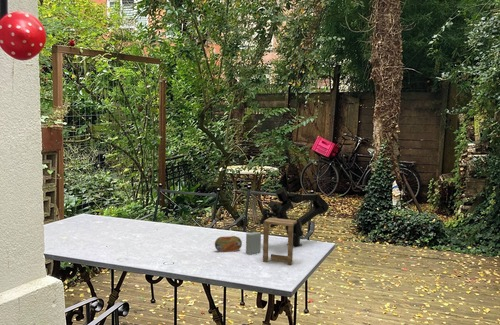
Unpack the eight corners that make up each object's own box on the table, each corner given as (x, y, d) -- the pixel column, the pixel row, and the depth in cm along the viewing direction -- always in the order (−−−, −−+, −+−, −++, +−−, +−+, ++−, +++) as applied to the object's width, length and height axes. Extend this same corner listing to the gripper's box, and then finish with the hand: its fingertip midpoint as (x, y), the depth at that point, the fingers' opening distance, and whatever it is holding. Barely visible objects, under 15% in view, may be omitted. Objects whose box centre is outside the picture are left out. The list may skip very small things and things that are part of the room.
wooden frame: (268, 256, 247) (269, 217, 245) (295, 259, 242) (296, 220, 241) (262, 261, 238) (263, 221, 236) (291, 265, 233) (292, 223, 231)
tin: (215, 252, 253) (215, 237, 252) (214, 251, 256) (214, 236, 255) (241, 251, 257) (242, 236, 256) (240, 249, 260) (240, 235, 259)
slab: (256, 251, 257) (256, 231, 256) (260, 252, 254) (260, 233, 253) (245, 253, 253) (246, 233, 252) (250, 254, 250) (250, 235, 249)
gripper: (267, 194, 267) (248, 211, 259) (289, 199, 252) (270, 216, 245) (274, 209, 271) (256, 226, 264) (296, 214, 257) (278, 232, 249)
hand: (265, 225), depth 255 cm, fingers open, 9 cm apart
